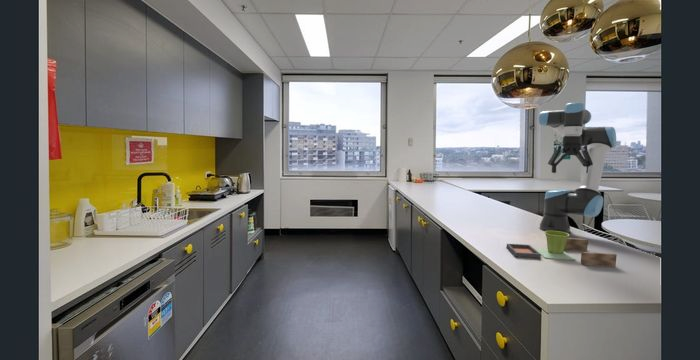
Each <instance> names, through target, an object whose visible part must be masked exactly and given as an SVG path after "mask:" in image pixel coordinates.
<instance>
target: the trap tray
mask: <svg viewBox="0 0 700 360" xmlns="http://www.w3.org/2000/svg"><path fill="white" fill-rule="evenodd" d="M506 249H507V250H508V251H509V252H510V253H511V254H512V255H513V256H514V257H515V258H520V259H521V258H522V259H536V260H537V259H538V260H539V259H540V260H541V259H542V256H541V254H540V253H539V252H538V251H536V250H535V249H536V248H534V247H533V246H531V245H530V244H522V243H519V244H518V243H506Z"/></svg>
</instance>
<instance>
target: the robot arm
mask: <svg viewBox="0 0 700 360" xmlns="http://www.w3.org/2000/svg"><path fill="white" fill-rule="evenodd" d="M591 120H592V113H591V112H590V111H589V110H588V109H586V108H585V104H584V102H569V103H568V102H567V103H566V104H565V108H564V110H563V109H559V110H545V111H541V112H540V113H539V116H538V124H539V125H540V126H544V127H550V128H551V129H552V130H553V131H555V132H556V133H558V135H559V136H560V137H561V139H562V145H556V146H555V150H554V152H553V153H552V155H551V157H550V159H549V161H548V162H547V165H549V166H550V167H551V173H552V180H555V181H558V179H559V166H558V165H559V164H560V163H561V162H562V161H563V160H564V159H565V157H567V156H575V157H576V159H578V161H579V162H580V164H581V166H580V167H581V168H580V178H579V179H580V184H579V187H577V188H575V190H574V192H570V189H552V190H547V191H546V192H545V194H544V204H543V205H544V208H543V217H542V219H541V220H540V223H539V229H540V230H541V231H544V232H545V231H560V232H565V233H568V234H569V233H570V232H571V225H570V223H569V219H568V214H569V215H577V216H583V217H592V218H593V217H594V218H595V217H598V216H599V214H600V213H601V212H602V208H603V206H604V198H603V196H602V194H601V192H600V191H599V188H600V183H601V179H602V176H603V170H604V167H605V162H606V158H607V154H608V153H610V152H611V150H612V148H613V149H614V148H616V146H617V132H616V129H615V127H614V126H591V127H590V126H589V127H583V125H586V124H588V123H589V122H590V121H591ZM580 151H581V152H580Z"/></svg>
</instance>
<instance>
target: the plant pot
mask: <svg viewBox="0 0 700 360" xmlns="http://www.w3.org/2000/svg"><path fill="white" fill-rule="evenodd" d="M544 234H545V238H546V244H547V245H546V246H547V250H548V251H549V252H552V253H554V254H561V253H564V252H565V249H564V248H565V244H566V241H567V239H568V238H569V237H570V234H569V232H568V233H565V232H560V231H545V230H544Z"/></svg>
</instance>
